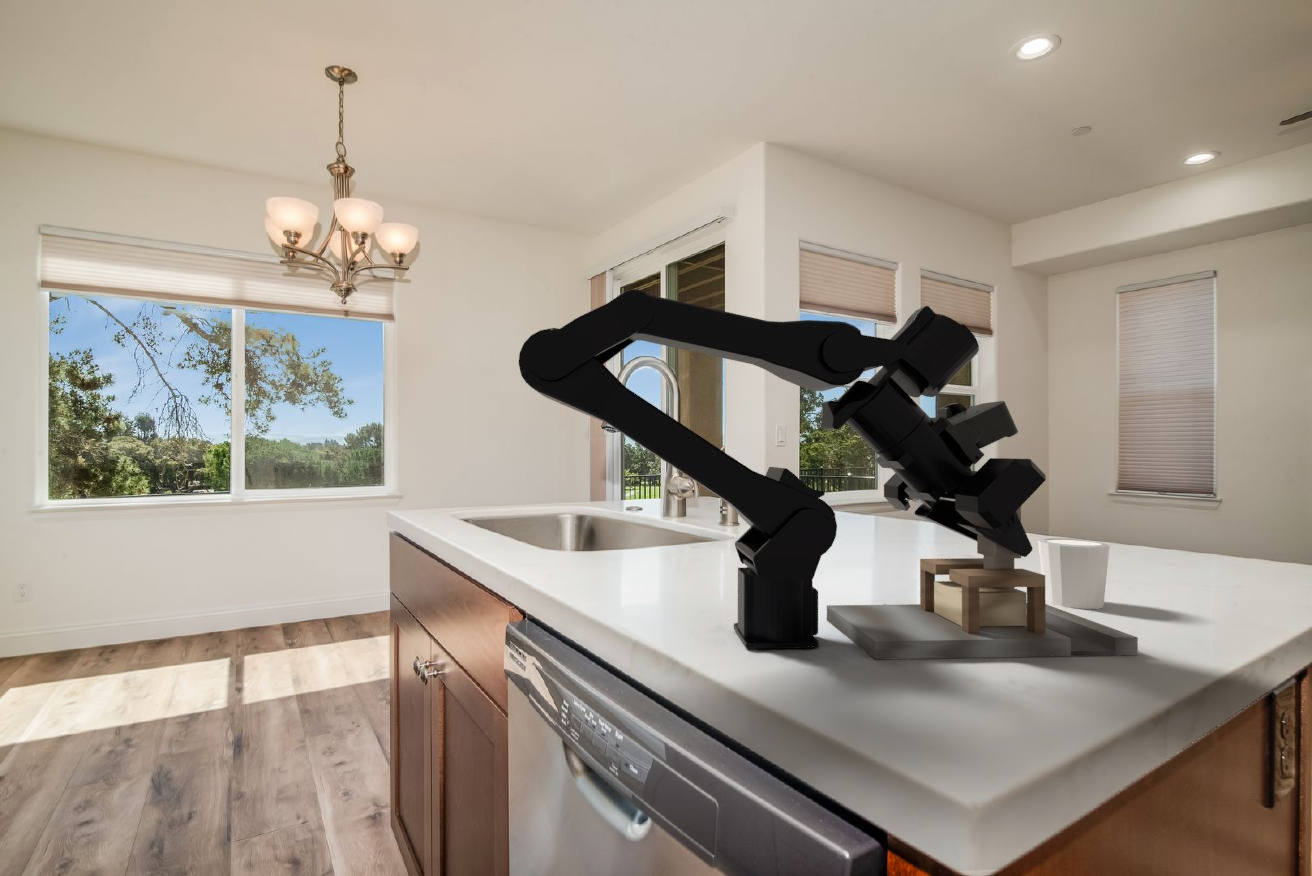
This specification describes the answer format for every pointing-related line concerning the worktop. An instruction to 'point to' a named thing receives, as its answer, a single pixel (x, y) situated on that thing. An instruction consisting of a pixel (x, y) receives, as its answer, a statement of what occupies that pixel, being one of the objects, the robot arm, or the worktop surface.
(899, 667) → the worktop surface
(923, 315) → the robot arm
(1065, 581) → the white cup
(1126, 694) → the worktop surface
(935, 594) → the stacked block pedestal
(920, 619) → the tunnel track
